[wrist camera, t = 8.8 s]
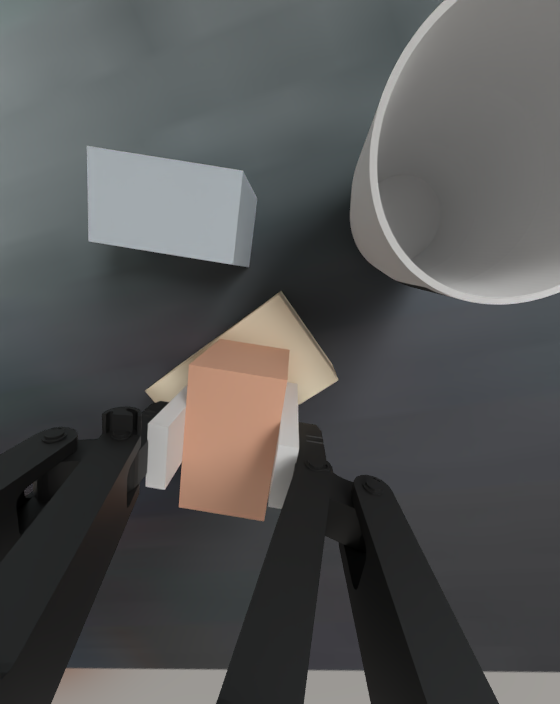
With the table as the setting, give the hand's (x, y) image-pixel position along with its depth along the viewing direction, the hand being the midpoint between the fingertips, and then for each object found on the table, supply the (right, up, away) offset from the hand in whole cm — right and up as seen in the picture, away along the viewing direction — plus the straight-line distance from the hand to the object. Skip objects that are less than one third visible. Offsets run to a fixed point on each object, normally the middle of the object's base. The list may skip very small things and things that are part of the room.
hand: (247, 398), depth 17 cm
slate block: (-3, +11, +1) cm, 11 cm away
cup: (+9, +11, +1) cm, 14 cm away
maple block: (0, +2, +4) cm, 4 cm away
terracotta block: (0, 0, 0) cm, 0 cm away
